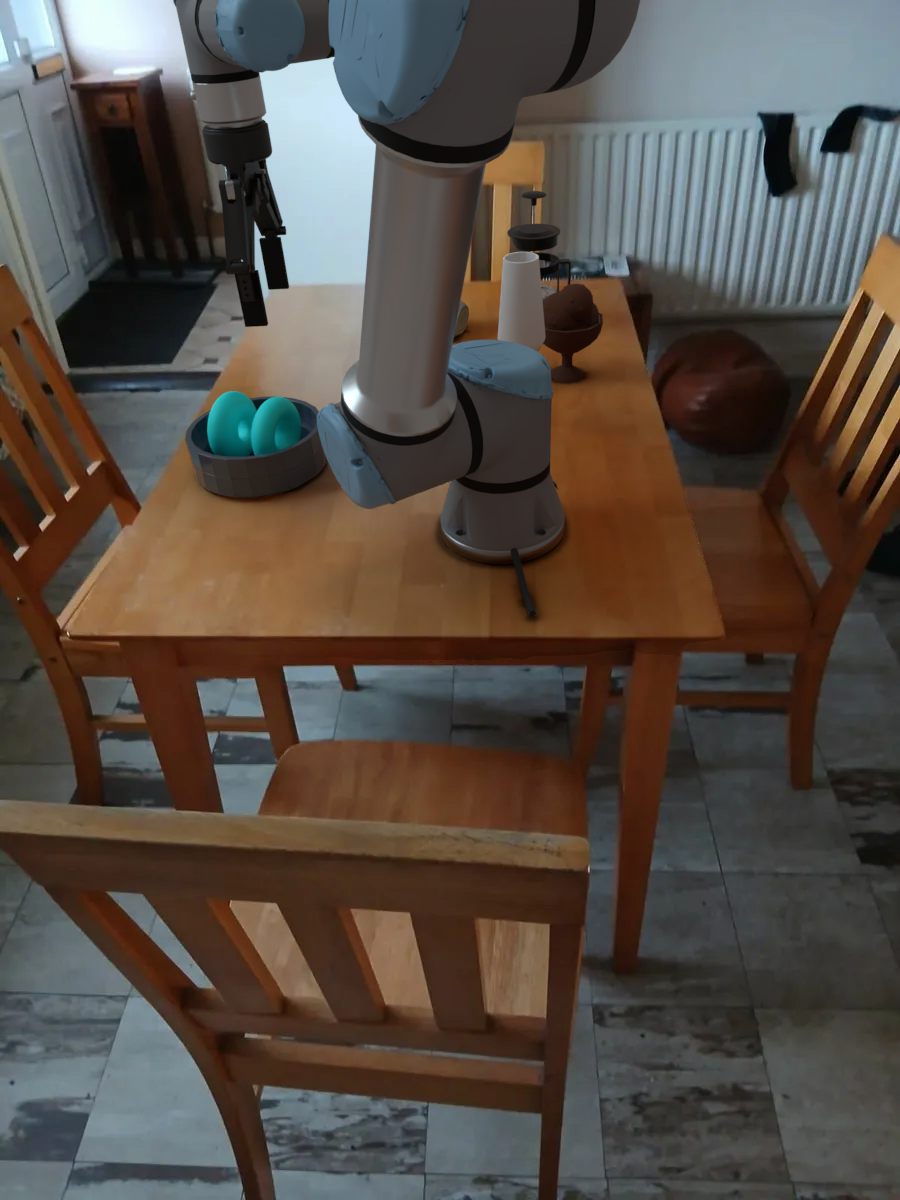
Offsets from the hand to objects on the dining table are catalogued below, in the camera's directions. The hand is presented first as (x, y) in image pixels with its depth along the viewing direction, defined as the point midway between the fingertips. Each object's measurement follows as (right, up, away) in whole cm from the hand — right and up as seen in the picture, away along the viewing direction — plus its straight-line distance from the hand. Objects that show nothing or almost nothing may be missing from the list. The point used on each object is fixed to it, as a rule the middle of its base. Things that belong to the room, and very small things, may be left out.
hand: (268, 306), depth 115 cm
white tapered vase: (+34, -11, +19) cm, 41 cm away
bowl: (-3, -19, +12) cm, 23 cm away
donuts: (-3, -18, +11) cm, 22 cm away
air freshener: (+22, +10, +47) cm, 53 cm away
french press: (+39, +12, +47) cm, 62 cm away
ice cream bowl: (+42, -1, +30) cm, 52 cm away
